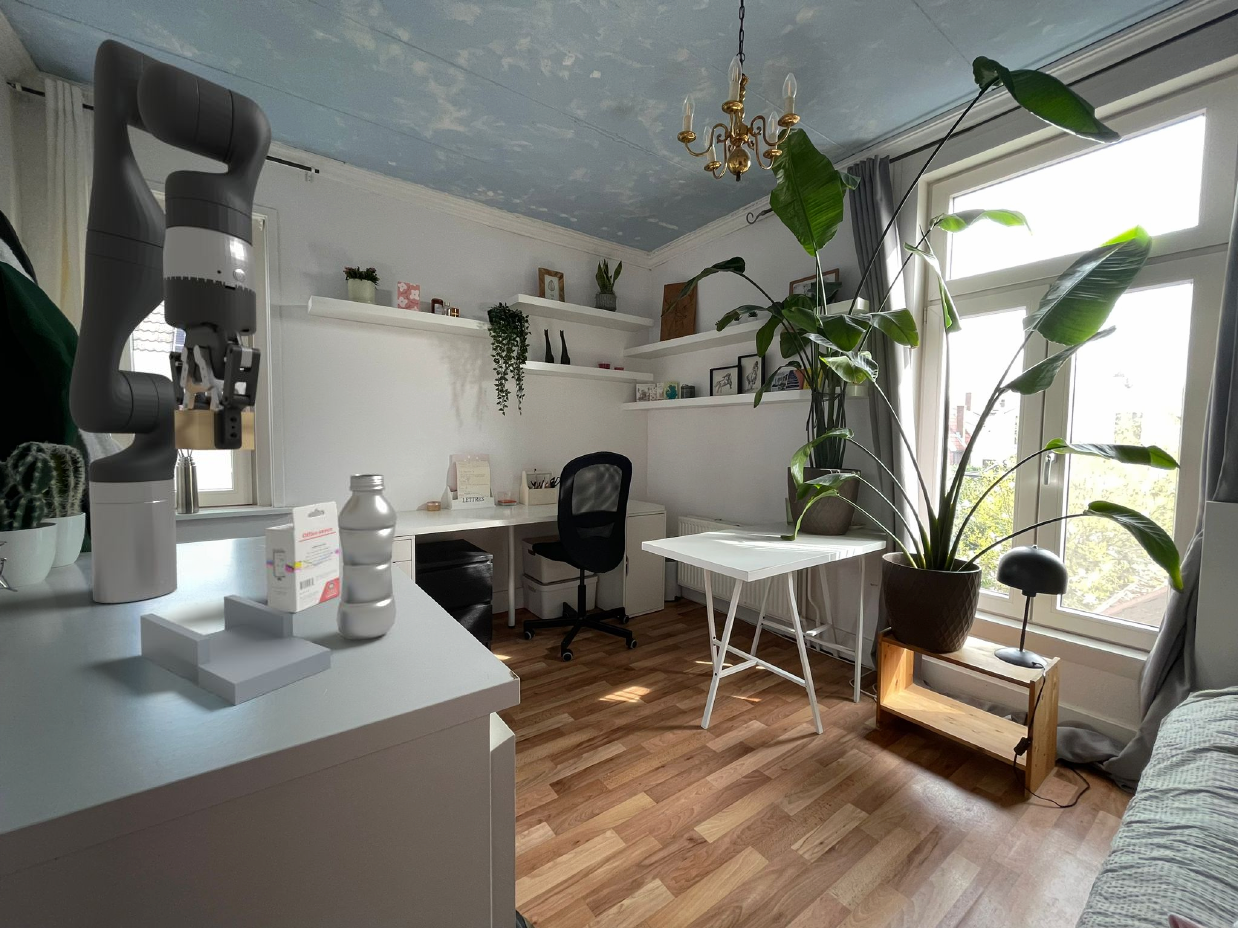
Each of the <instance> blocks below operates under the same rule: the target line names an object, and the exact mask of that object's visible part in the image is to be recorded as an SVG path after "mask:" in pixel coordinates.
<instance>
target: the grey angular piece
mask: <svg viewBox="0 0 1238 928" xmlns="http://www.w3.org/2000/svg"><path fill="white" fill-rule="evenodd" d="M223 606H224V612H223V613H224V629H223V630H220V631H219V630H218V631H216V632H212V633H209V634H205V635H203V634H202V633H199V632H197V631H195V630H193V629H190V628H188V627H185V626H183V625H180V624H178V623H176V622H175V621H171V620H169V619H166V618H164V617H163V616H159V615H157V614H155V613H152V612H151V613H147V614H143V615H140V618H139V619H140V623H139V624H140V644H141V645H140V650H141V651H140V652H141V657H143V658H145V659H147V660H149V661H150V662H152V663H155V664H156V665H158V666H160V667H162V668H163V669H166V670H168V671H170V672H171V673H173V674H176V675H177V676H179V677H180V678H182V679H185V680H186V681H189V682H191V683H192V684H195V685H196V686H198V687H200V688H202V689H203V690H205V691H208V692H210V693H211V694H213V695H214V696H215V695H216V696H217V697H219V698H221V699H223V700H225V701H227V702H228V703H230V704H232V705H235V706H237V705H240V704H242V703H245V702H247V701H249V700H252V699H255V698H257V697H259V696H262V695H264V694H267V693H270V692H272V691H274V690H277V689H280V688H283V687H285V686H287V685H289V684H292V683H295V682H298V681H300V680H302V679H305V678H307V677H310V676H312V675H315V674H318V673H320V672H322V671H326V670H328V669H330V668H331V648H328V647H326V646H322V645H320V644H317V643H314V642H312V641H309V640H306V639H303V638H300V637H297V636H295V635H294V622H293V621H294V617H293V615H294V614H293V613H292V612H285V611H282V610H279V609H276V608H273V607H270V606H268V604H263V603H260V602H257V601H254V600H251V599H248V598H246V597H242V596H238V595H236V594H230V595H225V596H224V597H223Z"/></svg>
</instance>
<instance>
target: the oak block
mask: <svg viewBox="0 0 1238 928" xmlns="http://www.w3.org/2000/svg"><path fill="white" fill-rule="evenodd" d="M214 413H219V412H218V411H215V410H184V409H180V410H175V449H178V450H190V451H192V450H193V451H245V450H246V451H247V450H248V451H249V450H251V451H252V450H254V451H255V418H254V417H255V416H254V415H255V413H254V412H253V411H251V412H250V411H245V412H244V413H241V416H242V446H241V448H239V449H217V448H216V447H215V445H214Z"/></svg>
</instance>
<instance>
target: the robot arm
mask: <svg viewBox="0 0 1238 928" xmlns="http://www.w3.org/2000/svg"><path fill="white" fill-rule="evenodd" d="M94 60H95V61H94V66H93V67H94V70H93V165H92V166H93V167H92V181H91V190H90V198H89V206H88V214H87V215H88V216H87V225H86V233H85V249H84V276H83V277H84V279H83V280H84V281H83V283H84V285H83V296H82V297H83V299H82V300H83V301H82V311H81V312H82V313H81V321H80V327H79V334H78V339H77V345H76V350H75V351H76V352H75V355H74V361H73V366H72V372H71V379H70V384H69V392H68V393H69V394H68V404H69V412H70V416H71V419H72V421H73V423H74V424H75V425H76V427H77V428H78V429H79V430H81V431H83V432H85V433H92V434H107V435H111V434H116V435H117V434H121V435H124V434H125V435H128V434H129V435H133V434H134V436H133V440H132V442H131V444H129V446H127V447H125V448H124V449H122V450H121V451H119V452H115V453H114V454H110V455H108V456H104V457H101V458H98V459H95V460H93V461H91V463H89V466H88V480H89V481H88V484H89V485H88V486H89V487H88V488H89V513H90V515H89V516H90V541H91V542H90V543H91V568H92V569H91V576H92V600H93V601H94V602H96V603H101V604H103V603H104V604H109V603H110V604H117V603H118V604H119V603H128V602H136V601H143V600H148V599H154V598H158V597H160V596H164V595H167V594H170V593H173V592H174V591H176V590H177V589H178V569H177V568H178V565H177V563H178V562H177V561H178V560H177V559H178V558H177V556H178V555H177V521H176V520H177V519H176V516H177V515H176V513H177V512H176V491H175V490H176V489H175V487H176V485H175V484H176V483H175V478H176V477H175V469H176V465H177V462H178V458H179V449H175V410H181V409H180V408H181V407H180V406H182V410H214V411H218V412H219V413H214V445H215V447H216V448H217V449H239V448H241V446H242V416H241V413H244V412H247V411H246V410H247V407H254V406H255V404H256V401H257V399H256V398H257V391H258V384H259V383H258V382H259V373H260V372H259V371H260V363H261V350H260V349H259V348H255V347H250V346H244V342H243V339H242V337H250V336H253V335H255V334H256V332H257V280H256V279H257V277H256V276H257V275H256V274H257V273H256V264H255V258H254V252H253V250H254V249H253V206H254V200H255V199H254V198H255V194H256V193H255V192H256V189H257V186H258V183H259V178H260V175H261V173H262V170H263V166H264V164H265V161H266V159H267V156H268V154H269V150H270V148H271V143H272V128H271V124H270V121H269V119H268V118H267V114H265V112H264V111H263V109H262V107H261V106H260V105H259V104H258V103H257V102H255V101H254V100H253V99H251V98H249V97H247V95H246V96H245V95H244V94H241V93H239V92H237V91H235V90H232V89H230V88H226V87H225V86H222V85H220V84H218V83H215V82H214V81H211V80H208V79H207V78H204V77H201V76H200V75H197V74H194V73H192V72H189V71H187V70H186V69H182V68H180V67H178V66H175V65H173V64H169V63H166V62H163V61H160V60H158V59H156V58H154V57H152V56H150V55H148V54H146V53H144V52H141V51H140V50H138V49H135V48H133V47H131V46H128V45H126V44H124V43H122V42H120V41H117V40H115V39H111V38H110V39H109V38H108V39H104V40H103V41H102V42H101V43H100V45H99V46H98V48H97V50H96V56H95V59H94ZM128 126H130V127H133V128H135V129H137V130H140V131H143V132H145V133H147V134H150V135H151V136H152V137H154V138H155V139H157V140H158V141H160V142H162V143H164V144H167V145H169V146H172V147H174V148H177V149H180V150H183V151H185V152H189V153H192V154H194V155H197V156H202V157H204V158H207V159H211V160H213V161H216V162H219V163H222V164H225V165H227V171H226V172H209V171H208V172H207V171H199V170H190V169H189V170H188V169H187V170H186V169H185V170H183V169H182V170H181V169H180V170H176V171H172V172H170V174H168V175H167V177H166V179H165V182H164V183H165V184H164V207H165V209H164V210H165V211H164V210H163V208H162V206H161V205H160V204H159V202H158V199H157V198H156V197H155V195H154V193H153V192H152V190H151V188H150V187H149V185H148V183H147V180H146V179H145V178H144V175H143V173H142V171H141V169H140V166H139V165H138V162H137V160H136V157H135V155H134V151H133V149H132V145H131V140H130V136H129V129H128ZM162 303H163V310H164V311H163V313H164V314H163V315H164V318H163V319H164V321H165V323H166V324H167V325H168V326H170V327H172V328H174V329H180V330H183V332H184V333H185V336H184V343H183V346H182V349H181V351H173V350H172V351H170V352H169V354H168V358H169V364H170V365H169V366H170V373H171V378H169V377H168V376H166V375H163V374H160V373H155V372H145V371H143V372H142V371H134V370H124V369H120V366H121V365H120V364H121V359H122V355H123V352H124V349H125V347H126V344H127V342H128V339H129V338H130V336H131V335H132V333H133V332H134V331H135V330H136V328H137V327H139V326H140V324H141V323H142V322H143V321H144V320H145V319H146V318H148V317H149V315H151V313H153V312H154V311H156V309H157V308H158V307H159V306H160V305H162Z"/></svg>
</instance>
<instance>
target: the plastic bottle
mask: <svg viewBox="0 0 1238 928" xmlns="http://www.w3.org/2000/svg"><path fill="white" fill-rule="evenodd" d="M349 485H350V486H349V491H350V492H352V493H351V496H350V497H349V499H348V500H347V501H346V503H345V504H344V505H343V507H342V508H341V510H340V512H339V514H338V516H337V519H338V528H339V543H340V547H341V560H342V561H341V563H342V582H341V591H340V600H339V603H338V605H337V611H336V612H337V613H336V624H337V629H338V632H339V633H340V634H341V635H342V636H343V638H345V639H348V640H366V639H367V640H368V639H372V638H376V637H381V636H382V635H385V634H387V633H388V632H389V631H390V630H391V629H392V628H393V626H394V624H395V621H396V615H397V608H396V600H395V596H394V590H393V588H394V587H393V578H392V576H393V575H392V557H393V544H394V540H395V533H396V527H397V526H396V525H397V520H398V519H397V518H398V517H397V512H396V510H395V509H394V507H393V505H392V504H391V503H390V501H388V500H387V498H386V497H385V495H384V494H383V491H385V490H386V486H385V478H384V474H374V473H372V474H369V473H367V474H366V473H365V474H351V475H350V477H349Z"/></svg>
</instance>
